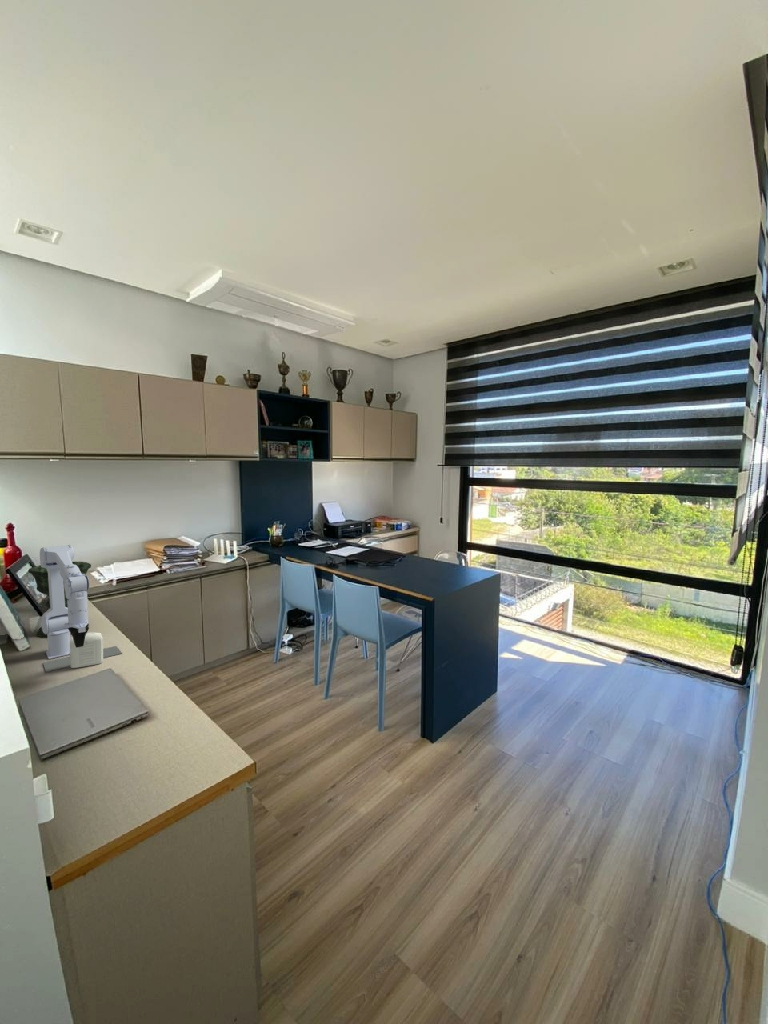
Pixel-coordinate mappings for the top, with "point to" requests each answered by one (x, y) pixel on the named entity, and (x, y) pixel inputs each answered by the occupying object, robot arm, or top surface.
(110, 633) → the top surface
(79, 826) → the top surface
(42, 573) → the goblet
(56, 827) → the top surface
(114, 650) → the mat
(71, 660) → the photo printer
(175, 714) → the top surface
